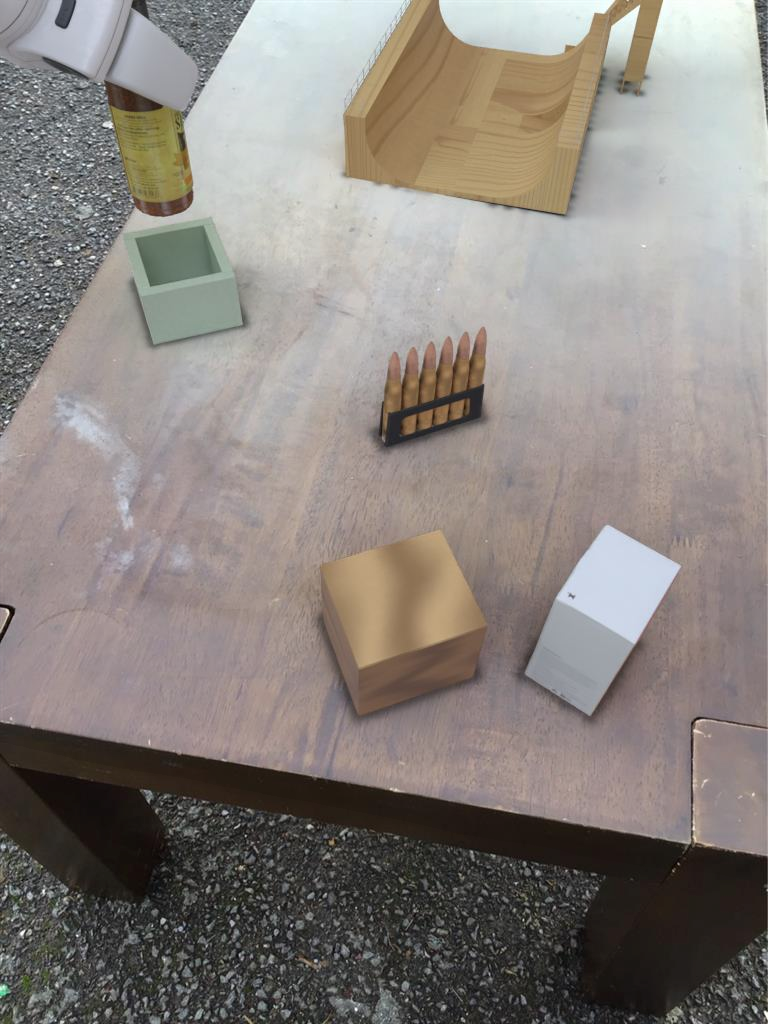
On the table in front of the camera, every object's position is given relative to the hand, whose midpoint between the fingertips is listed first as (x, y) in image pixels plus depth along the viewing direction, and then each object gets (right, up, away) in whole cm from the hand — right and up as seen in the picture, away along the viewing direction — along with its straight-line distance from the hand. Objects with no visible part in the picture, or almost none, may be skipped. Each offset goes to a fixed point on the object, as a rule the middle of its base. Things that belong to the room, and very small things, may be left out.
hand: (145, 81), depth 72 cm
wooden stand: (+22, -50, -4) cm, 55 cm away
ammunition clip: (+26, -30, +11) cm, 41 cm away
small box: (+37, -51, -4) cm, 63 cm away
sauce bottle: (-1, -7, +9) cm, 12 cm away
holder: (-1, -15, +20) cm, 25 cm away
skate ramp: (+38, +17, +45) cm, 61 cm away
